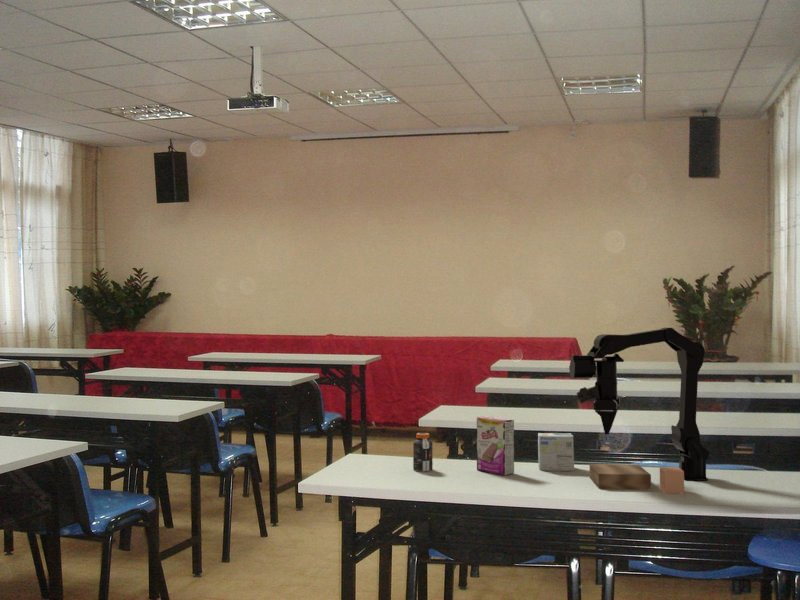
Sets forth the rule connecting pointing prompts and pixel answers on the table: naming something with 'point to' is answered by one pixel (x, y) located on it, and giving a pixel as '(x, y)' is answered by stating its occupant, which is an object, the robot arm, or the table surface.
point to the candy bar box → (495, 445)
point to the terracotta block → (671, 480)
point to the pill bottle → (422, 453)
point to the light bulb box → (556, 451)
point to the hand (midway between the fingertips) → (607, 431)
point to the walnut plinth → (619, 476)
